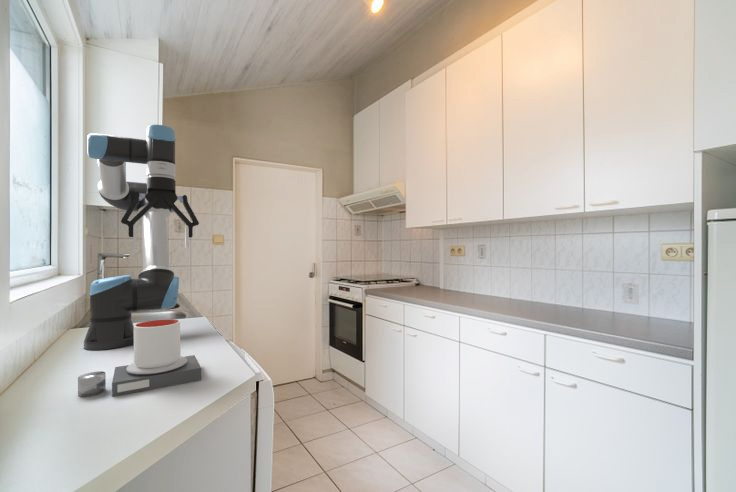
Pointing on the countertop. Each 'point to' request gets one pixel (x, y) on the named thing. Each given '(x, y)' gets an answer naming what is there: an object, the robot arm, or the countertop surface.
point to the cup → (156, 343)
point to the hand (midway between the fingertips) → (161, 248)
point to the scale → (155, 376)
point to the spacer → (91, 384)
